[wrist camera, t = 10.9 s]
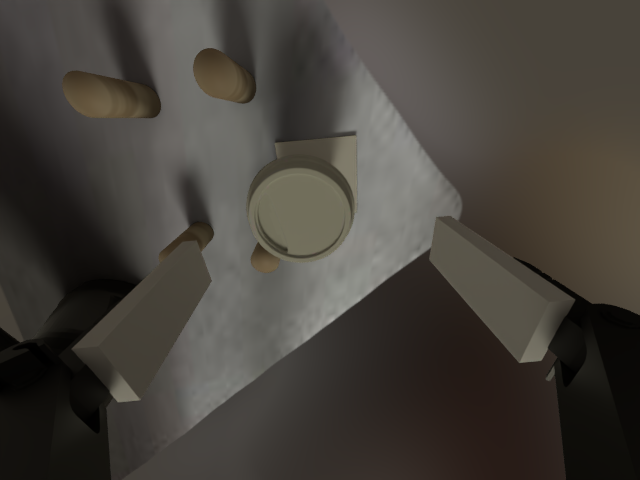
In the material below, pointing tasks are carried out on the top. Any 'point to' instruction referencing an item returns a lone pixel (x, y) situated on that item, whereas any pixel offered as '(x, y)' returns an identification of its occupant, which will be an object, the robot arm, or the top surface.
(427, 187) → the top surface
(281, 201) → the coffee cup
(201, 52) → the spacer posts
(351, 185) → the felt mat
